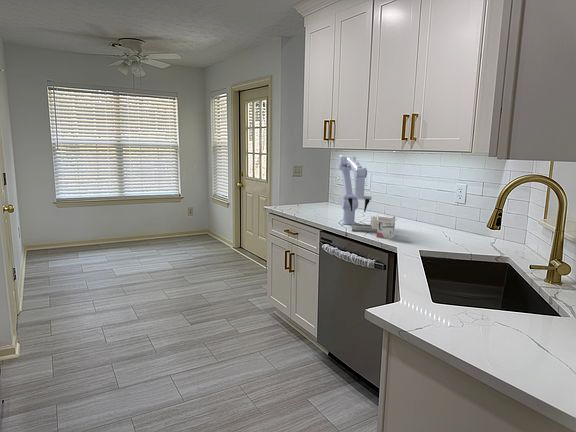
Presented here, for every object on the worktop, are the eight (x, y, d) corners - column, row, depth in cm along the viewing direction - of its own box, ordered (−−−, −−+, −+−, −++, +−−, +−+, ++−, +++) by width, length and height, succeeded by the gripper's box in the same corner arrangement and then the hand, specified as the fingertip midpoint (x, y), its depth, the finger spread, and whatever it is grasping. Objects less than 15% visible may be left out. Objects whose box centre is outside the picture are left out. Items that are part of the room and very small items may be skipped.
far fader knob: (370, 224, 248) (371, 216, 247) (376, 224, 247) (376, 216, 246) (370, 226, 243) (371, 217, 242) (376, 226, 243) (377, 218, 242)
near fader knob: (371, 227, 239) (372, 218, 238) (377, 227, 239) (378, 219, 238) (372, 229, 234) (372, 220, 233) (378, 229, 234) (379, 220, 233)
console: (351, 225, 251) (351, 223, 250) (383, 227, 248) (383, 225, 248) (351, 231, 234) (352, 229, 234) (385, 233, 231) (385, 231, 231)
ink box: (376, 237, 222) (377, 215, 220) (378, 235, 226) (380, 214, 224) (392, 239, 218) (393, 217, 216) (394, 237, 222) (396, 216, 220)
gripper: (346, 188, 235) (345, 211, 237) (372, 189, 233) (370, 213, 235) (347, 187, 242) (345, 210, 244) (371, 188, 240) (370, 211, 242)
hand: (358, 211), depth 240 cm, fingers open, 7 cm apart
